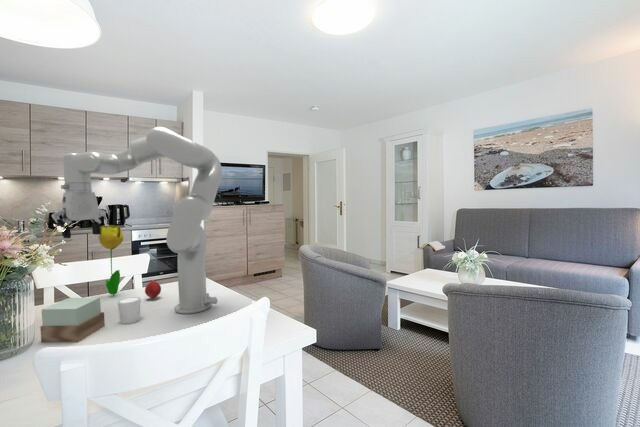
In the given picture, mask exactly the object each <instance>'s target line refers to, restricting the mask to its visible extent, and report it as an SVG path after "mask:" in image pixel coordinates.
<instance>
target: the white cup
mask: <svg viewBox="0 0 640 427" xmlns="http://www.w3.org/2000/svg"><path fill="white" fill-rule="evenodd" d="M116 303H117V309H118V310H117V311H118V315H119V316H118V317H119V321H120V323H121V324H125V323H127V324H133V323H135V322H138V321H139V320H140V319H141V318H140V317H141V297H140V296H133V297H132V296H131V297H126V298H122V299H120V300H118V301H117V302H116ZM132 322H133V323H132ZM125 325H126V324H125Z"/></svg>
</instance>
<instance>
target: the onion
mask: <svg viewBox="0 0 640 427" xmlns="http://www.w3.org/2000/svg"><path fill="white" fill-rule="evenodd" d="M161 292H162V286H161V284H160V283H159V282H157V281H155V279H151V281H150V282H148V283H147V284H146V286H145V288H144V293H145V295H146V296H148V297H149V298H150V299H153V300H154V299H156V298H157V297H158V296H159V295H160V293H161Z"/></svg>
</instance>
